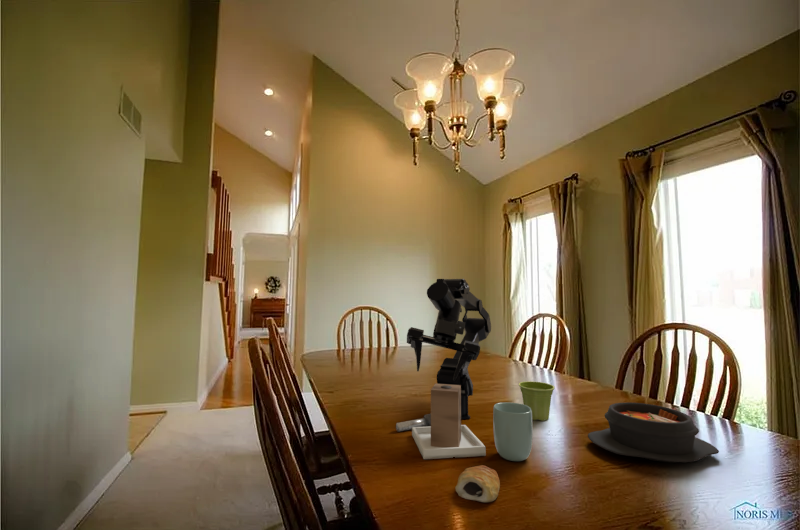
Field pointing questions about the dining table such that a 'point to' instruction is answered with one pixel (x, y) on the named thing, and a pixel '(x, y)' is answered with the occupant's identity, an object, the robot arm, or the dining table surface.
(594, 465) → the dining table surface
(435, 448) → the tray
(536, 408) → the plant pot
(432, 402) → the block
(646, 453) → the casserole
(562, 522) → the dining table surface
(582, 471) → the dining table surface
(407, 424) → the flashlight
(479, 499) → the pastry
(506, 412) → the cup
